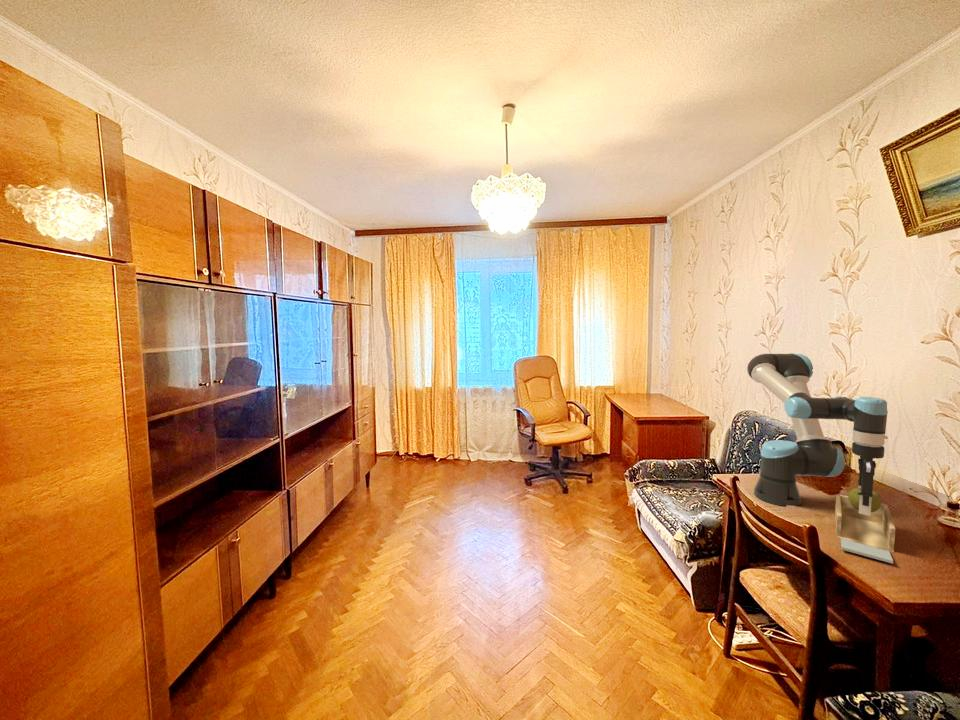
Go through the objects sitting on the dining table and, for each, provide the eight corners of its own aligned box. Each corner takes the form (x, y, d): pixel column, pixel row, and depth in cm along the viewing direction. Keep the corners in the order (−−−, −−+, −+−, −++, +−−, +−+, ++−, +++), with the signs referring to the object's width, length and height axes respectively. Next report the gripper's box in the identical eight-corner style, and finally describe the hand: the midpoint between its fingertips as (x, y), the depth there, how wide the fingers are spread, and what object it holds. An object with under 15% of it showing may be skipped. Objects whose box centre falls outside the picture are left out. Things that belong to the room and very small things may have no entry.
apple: (882, 518, 123) (883, 497, 122) (847, 510, 128) (849, 490, 128) (879, 510, 128) (881, 489, 128) (847, 503, 134) (848, 483, 133)
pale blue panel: (840, 541, 124) (841, 550, 117) (840, 538, 124) (841, 546, 117) (888, 554, 117) (892, 565, 110) (889, 551, 117) (893, 561, 110)
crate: (835, 539, 125) (837, 516, 125) (834, 514, 142) (836, 493, 141) (893, 554, 117) (895, 530, 116) (885, 526, 133) (887, 504, 132)
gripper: (888, 453, 116) (883, 525, 118) (881, 439, 131) (876, 502, 133) (854, 449, 121) (849, 517, 123) (851, 435, 136) (847, 496, 138)
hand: (863, 509), depth 128 cm, fingers closed on apple, 7 cm apart
